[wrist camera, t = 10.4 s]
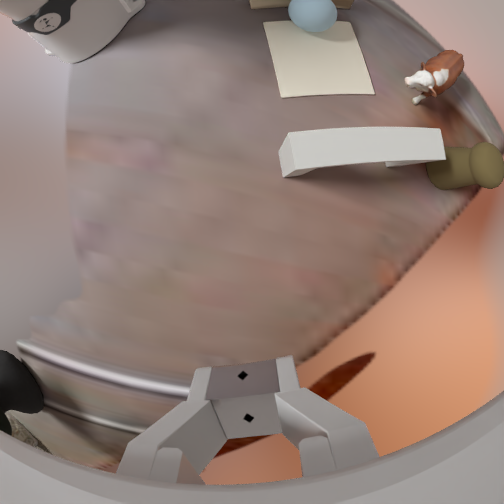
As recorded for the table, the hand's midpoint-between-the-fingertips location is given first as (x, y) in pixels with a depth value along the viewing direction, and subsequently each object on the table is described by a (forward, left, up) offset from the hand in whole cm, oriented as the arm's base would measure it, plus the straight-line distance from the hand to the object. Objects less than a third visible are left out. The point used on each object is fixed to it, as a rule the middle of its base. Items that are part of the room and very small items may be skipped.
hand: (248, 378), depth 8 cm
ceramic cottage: (+46, -84, -24) cm, 98 cm away
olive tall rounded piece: (-6, +27, -24) cm, 36 cm away
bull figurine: (-18, +26, -24) cm, 40 cm away
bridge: (-8, +12, -24) cm, 28 cm away
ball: (-28, +12, -21) cm, 37 cm away
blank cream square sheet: (-22, +12, -24) cm, 35 cm away
